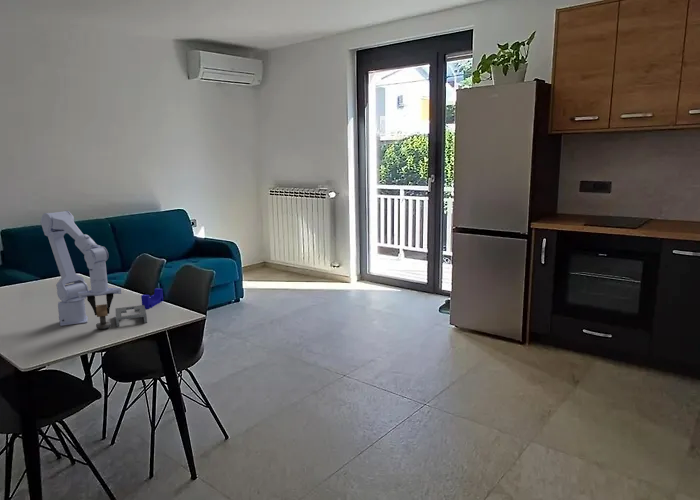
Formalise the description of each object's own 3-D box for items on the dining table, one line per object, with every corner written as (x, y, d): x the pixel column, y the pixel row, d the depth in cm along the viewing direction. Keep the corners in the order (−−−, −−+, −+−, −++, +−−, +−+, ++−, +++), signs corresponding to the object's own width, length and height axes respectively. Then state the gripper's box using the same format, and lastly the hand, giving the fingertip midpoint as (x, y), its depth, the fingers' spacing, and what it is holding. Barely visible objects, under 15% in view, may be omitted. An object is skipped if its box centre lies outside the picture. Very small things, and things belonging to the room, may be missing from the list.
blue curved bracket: (154, 300, 231) (153, 288, 230) (163, 301, 230) (162, 288, 229) (139, 308, 219) (138, 295, 218) (148, 309, 218) (147, 295, 217)
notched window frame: (116, 326, 196) (115, 318, 195) (116, 316, 209) (115, 308, 208) (147, 322, 201) (146, 314, 200) (144, 312, 213) (144, 304, 212)
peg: (96, 329, 191) (93, 308, 189) (96, 325, 195) (94, 305, 194) (110, 327, 193) (108, 306, 191) (110, 323, 197) (108, 303, 196)
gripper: (76, 283, 184) (80, 319, 187) (120, 279, 190) (123, 314, 193) (77, 279, 190) (81, 314, 193) (119, 275, 196) (122, 309, 199)
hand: (102, 313), depth 193 cm, fingers closed on peg, 4 cm apart
